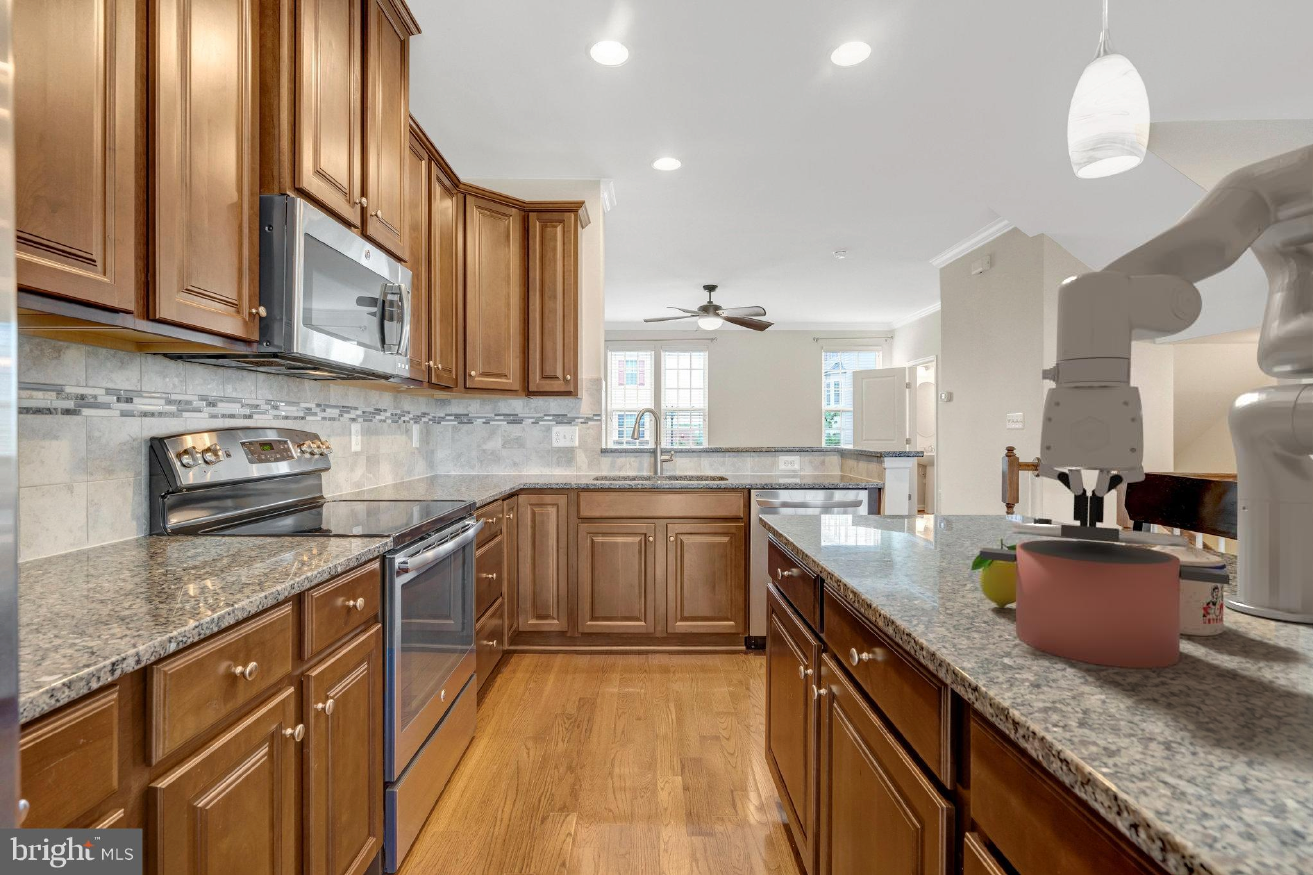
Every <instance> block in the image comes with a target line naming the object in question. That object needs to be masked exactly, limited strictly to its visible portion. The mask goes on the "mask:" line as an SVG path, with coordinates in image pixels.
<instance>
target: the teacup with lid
mask: <svg viewBox="0 0 1313 875" xmlns="http://www.w3.org/2000/svg"><path fill="white" fill-rule="evenodd" d="M1150 549H1152V550H1157V551H1161V552H1165V553H1169V554H1172V555H1174V556H1176V557H1178V558H1179V559H1180V566H1187V567H1197V568H1208V569H1219V570H1226V568H1227V564H1226V562H1225V560H1223V558H1221V557H1219V556H1217V555H1214V554H1210V553H1208V552H1206V551H1204V550H1203V549H1202V548H1200V547H1197V546H1195V545H1191V544H1190V538H1188V537H1187V536H1186V547H1173V546H1159V545H1155V546H1154V547H1152V548H1150ZM1224 585H1225V584H1219V583H1210V582H1200V581H1190V580H1181V579H1180V634H1181V635H1188V636H1199V637H1200V636H1201V637H1203V636H1205V637H1209V636H1217V635H1221V634H1222V633H1223V632H1224V604H1223V597H1224V595H1225V593H1224V591H1225V590H1224V588H1225V587H1224Z"/></svg>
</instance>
